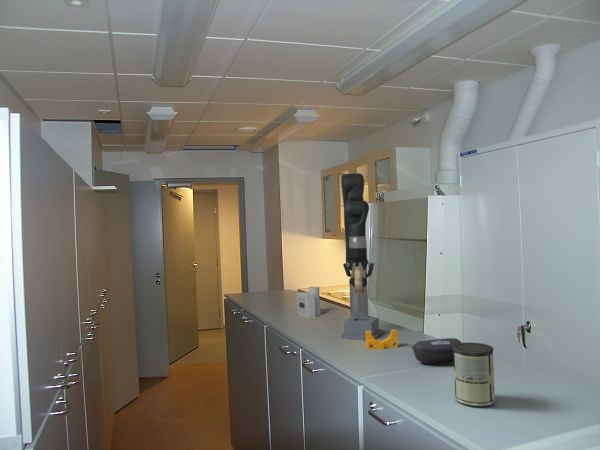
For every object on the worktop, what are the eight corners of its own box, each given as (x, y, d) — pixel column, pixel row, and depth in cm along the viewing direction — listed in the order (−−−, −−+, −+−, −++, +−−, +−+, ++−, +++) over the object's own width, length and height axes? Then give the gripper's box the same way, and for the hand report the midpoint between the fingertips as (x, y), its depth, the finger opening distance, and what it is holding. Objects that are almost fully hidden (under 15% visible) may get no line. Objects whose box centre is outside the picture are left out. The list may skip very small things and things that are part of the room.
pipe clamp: (367, 349, 185) (366, 333, 185) (366, 347, 190) (365, 330, 190) (398, 349, 185) (398, 332, 185) (396, 346, 190) (396, 329, 190)
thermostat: (297, 315, 262) (296, 287, 262) (320, 312, 268) (319, 285, 268) (307, 318, 251) (306, 289, 251) (331, 315, 257) (330, 287, 257)
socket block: (351, 330, 218) (351, 315, 218) (382, 332, 213) (381, 316, 213) (341, 338, 205) (340, 321, 205) (373, 340, 199) (372, 323, 199)
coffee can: (449, 393, 135) (447, 343, 135) (485, 391, 135) (483, 341, 135) (462, 407, 125) (460, 352, 125) (502, 405, 125) (500, 351, 125)
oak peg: (356, 293, 211) (355, 265, 211) (365, 293, 210) (364, 265, 210) (353, 294, 208) (352, 266, 208) (362, 294, 206) (361, 266, 206)
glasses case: (421, 369, 159) (420, 345, 159) (407, 360, 169) (406, 338, 169) (470, 363, 163) (469, 340, 163) (453, 355, 173) (452, 334, 173)
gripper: (376, 246, 209) (377, 285, 209) (345, 246, 215) (346, 285, 215) (371, 247, 203) (373, 288, 203) (339, 247, 208) (340, 287, 208)
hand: (359, 286), depth 209 cm, fingers closed on oak peg, 4 cm apart
